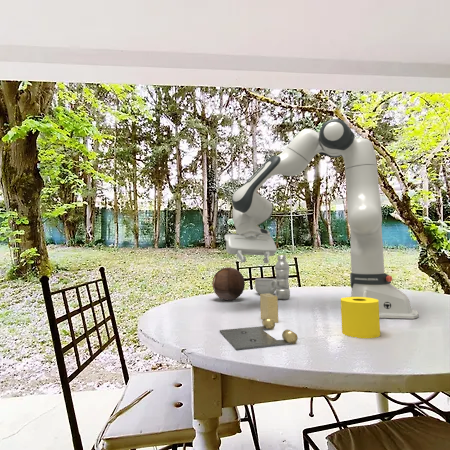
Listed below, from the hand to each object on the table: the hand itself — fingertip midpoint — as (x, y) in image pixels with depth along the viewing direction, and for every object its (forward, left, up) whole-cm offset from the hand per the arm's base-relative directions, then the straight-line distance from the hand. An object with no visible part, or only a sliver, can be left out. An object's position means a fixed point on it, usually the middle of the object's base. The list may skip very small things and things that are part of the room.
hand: (255, 261), depth 126 cm
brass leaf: (-8, +10, -19) cm, 23 cm away
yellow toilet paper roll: (-37, +16, -19) cm, 45 cm away
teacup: (+10, -42, -19) cm, 47 cm away
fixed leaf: (-11, +31, -19) cm, 38 cm away
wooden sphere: (+22, -22, -19) cm, 36 cm away
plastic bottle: (-1, -31, -19) cm, 36 cm away
